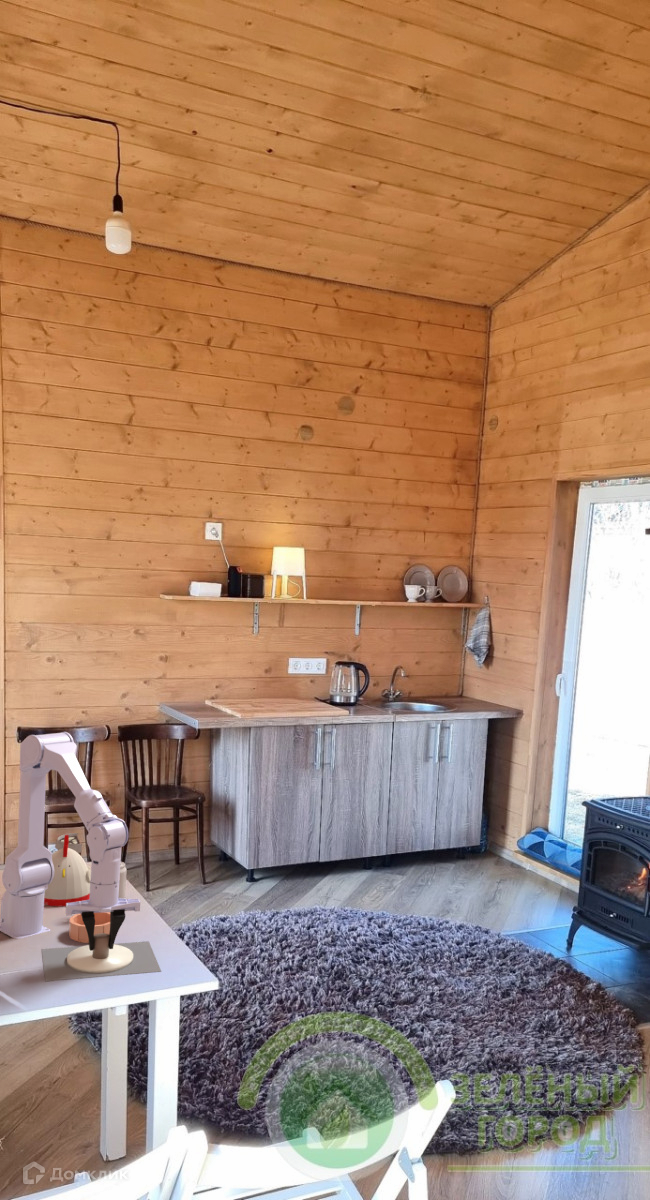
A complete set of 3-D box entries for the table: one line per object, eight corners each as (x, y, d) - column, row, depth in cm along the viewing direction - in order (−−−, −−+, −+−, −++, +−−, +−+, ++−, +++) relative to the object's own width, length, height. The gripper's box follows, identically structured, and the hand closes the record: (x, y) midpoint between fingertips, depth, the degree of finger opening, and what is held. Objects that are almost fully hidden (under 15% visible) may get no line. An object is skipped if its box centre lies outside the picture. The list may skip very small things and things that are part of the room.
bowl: (59, 937, 192) (60, 919, 192) (96, 925, 200) (97, 907, 200) (89, 949, 186) (90, 930, 186) (126, 936, 194) (126, 918, 194)
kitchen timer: (30, 907, 210) (34, 843, 210) (35, 888, 223) (39, 828, 223) (91, 905, 213) (95, 843, 213) (92, 887, 226) (96, 828, 226)
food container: (51, 870, 238) (53, 833, 238) (75, 869, 240) (77, 832, 240) (54, 884, 226) (57, 845, 226) (79, 883, 228) (82, 844, 229)
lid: (54, 958, 179) (55, 934, 179) (108, 942, 189) (109, 920, 189) (91, 979, 170) (93, 953, 170) (146, 961, 180) (147, 937, 180)
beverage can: (128, 917, 206) (131, 865, 206) (102, 922, 202) (105, 869, 202) (117, 909, 211) (120, 858, 211) (91, 913, 207) (94, 862, 207)
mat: (41, 951, 183) (41, 949, 183) (148, 944, 191) (148, 941, 191) (44, 984, 168) (45, 981, 168) (161, 974, 176) (161, 971, 176)
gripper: (69, 888, 174) (65, 958, 173) (144, 885, 178) (140, 952, 178) (66, 877, 180) (62, 944, 180) (139, 874, 185) (135, 939, 185)
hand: (100, 948), depth 180 cm, fingers closed on lid, 3 cm apart
